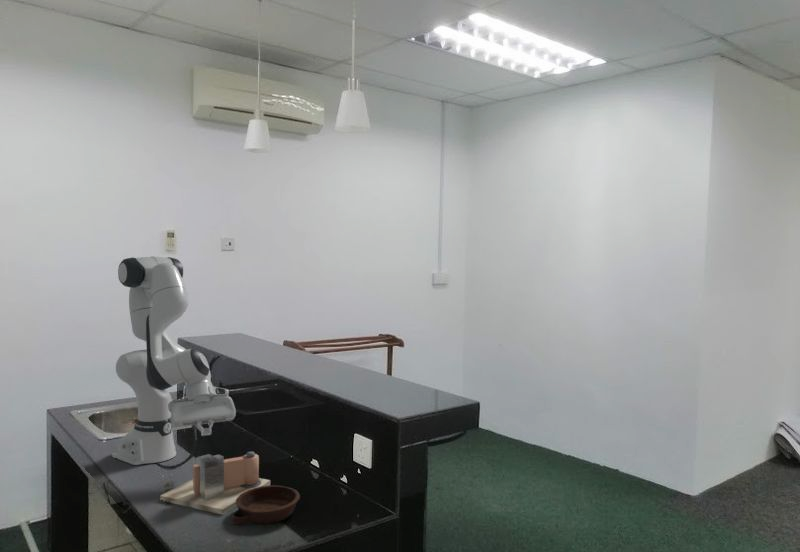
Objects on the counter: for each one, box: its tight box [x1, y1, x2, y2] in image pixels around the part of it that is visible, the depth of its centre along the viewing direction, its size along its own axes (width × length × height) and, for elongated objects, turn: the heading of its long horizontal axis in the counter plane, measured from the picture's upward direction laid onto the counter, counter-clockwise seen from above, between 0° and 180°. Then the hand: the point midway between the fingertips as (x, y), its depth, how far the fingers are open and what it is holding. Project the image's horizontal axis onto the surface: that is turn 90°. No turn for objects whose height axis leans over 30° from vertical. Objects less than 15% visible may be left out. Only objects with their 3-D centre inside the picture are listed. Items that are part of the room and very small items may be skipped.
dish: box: [231, 484, 301, 525], centre depth 166 cm, size 18×22×5 cm
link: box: [192, 451, 260, 494], centre depth 179 cm, size 20×5×9 cm, turn 120°
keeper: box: [196, 453, 225, 500], centre depth 174 cm, size 6×5×12 cm
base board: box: [159, 477, 271, 516], centre depth 180 cm, size 23×23×2 cm
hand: (206, 434), depth 187 cm, fingers closed
